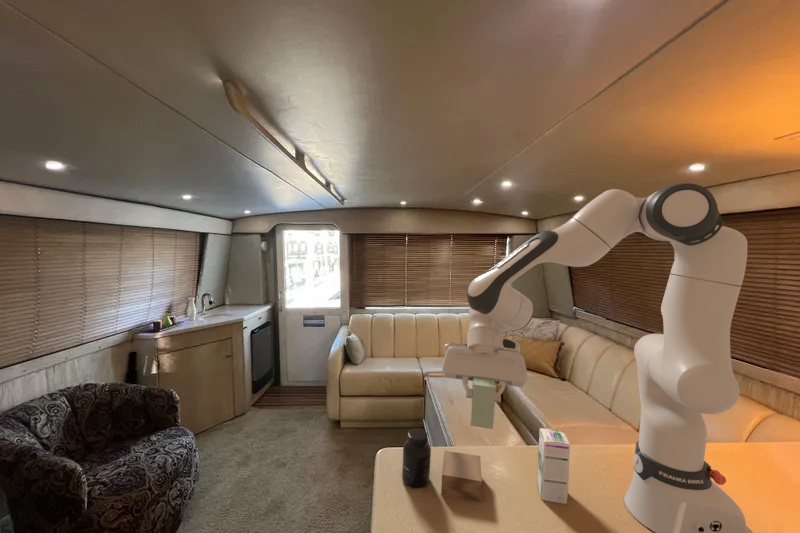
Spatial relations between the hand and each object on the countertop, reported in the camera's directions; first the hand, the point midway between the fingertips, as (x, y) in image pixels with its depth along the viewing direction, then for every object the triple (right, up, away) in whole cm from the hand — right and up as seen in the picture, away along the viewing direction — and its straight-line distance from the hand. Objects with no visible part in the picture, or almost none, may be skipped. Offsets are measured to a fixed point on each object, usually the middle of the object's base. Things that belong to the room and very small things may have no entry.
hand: (483, 399), depth 78 cm
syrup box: (+16, -23, +1) cm, 28 cm away
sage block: (0, -6, +1) cm, 6 cm away
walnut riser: (-5, -22, +3) cm, 22 cm away
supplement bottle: (-16, -22, +4) cm, 27 cm away
